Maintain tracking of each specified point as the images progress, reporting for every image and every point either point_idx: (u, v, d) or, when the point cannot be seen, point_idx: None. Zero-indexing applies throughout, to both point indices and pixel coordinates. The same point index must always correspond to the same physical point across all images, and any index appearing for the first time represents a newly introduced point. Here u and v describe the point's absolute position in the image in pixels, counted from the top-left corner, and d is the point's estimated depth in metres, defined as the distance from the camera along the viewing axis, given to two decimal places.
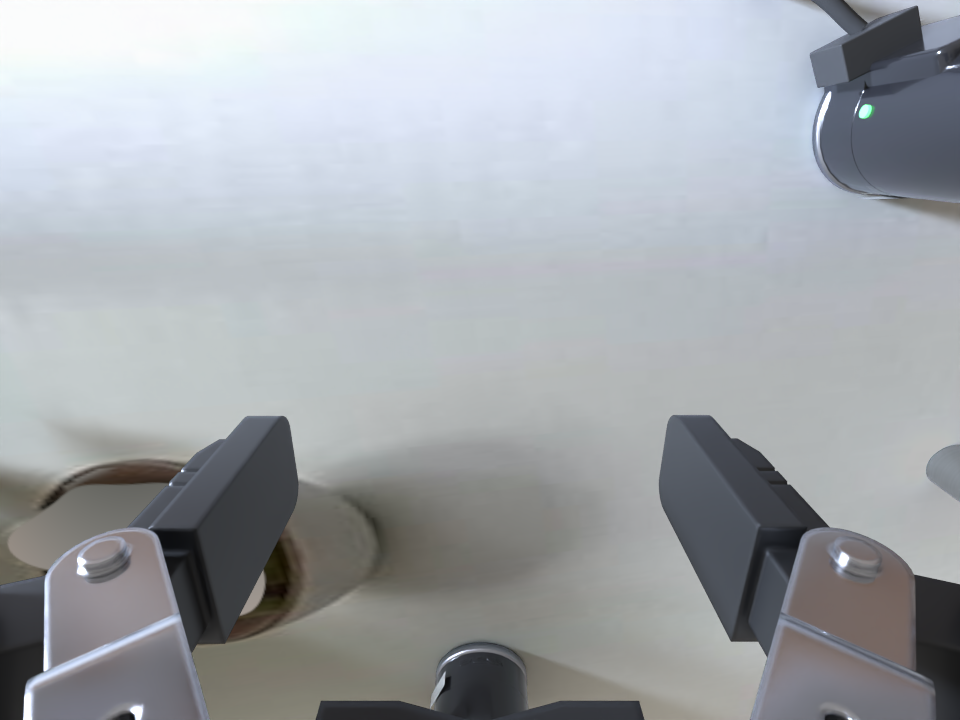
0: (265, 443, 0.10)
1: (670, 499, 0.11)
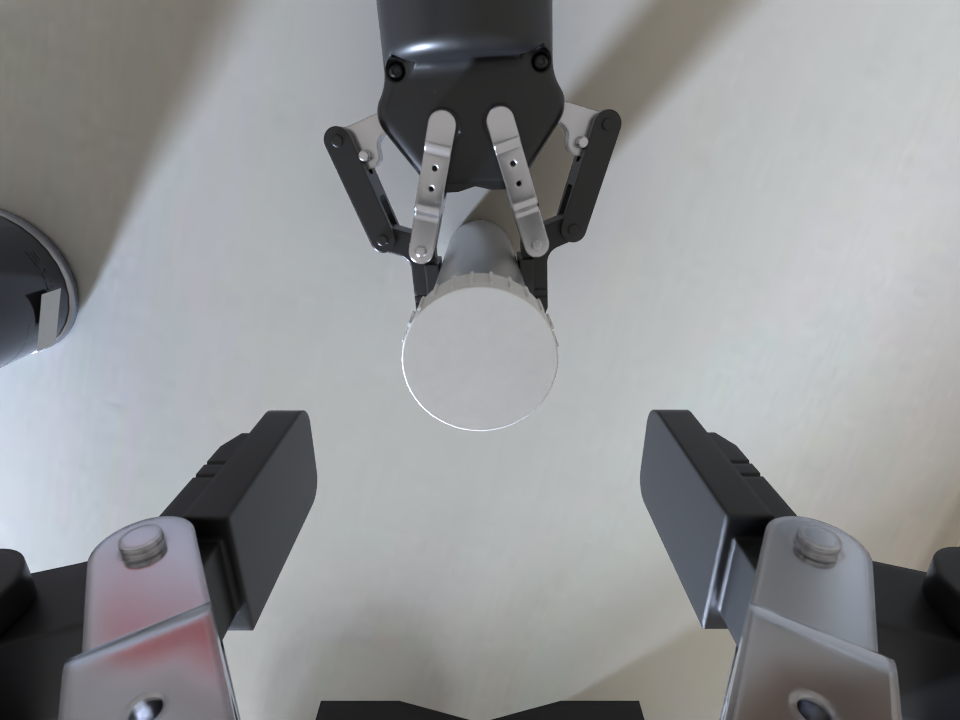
0: (288, 436, 0.10)
1: (650, 492, 0.11)
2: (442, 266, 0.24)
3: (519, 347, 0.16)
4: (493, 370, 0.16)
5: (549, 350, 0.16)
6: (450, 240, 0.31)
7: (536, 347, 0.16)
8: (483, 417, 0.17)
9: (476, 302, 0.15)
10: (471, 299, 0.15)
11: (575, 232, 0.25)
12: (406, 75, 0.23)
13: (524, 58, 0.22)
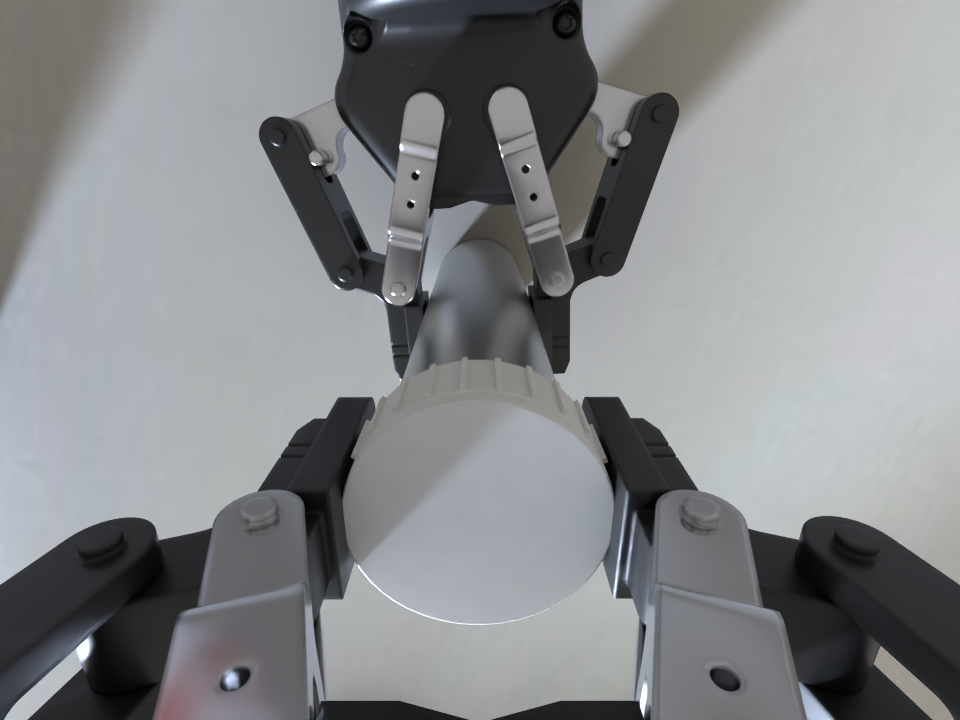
0: (362, 421, 0.10)
1: None
2: (426, 313, 0.17)
3: (548, 500, 0.09)
4: (502, 535, 0.09)
5: (601, 504, 0.09)
6: (441, 266, 0.24)
7: (578, 500, 0.09)
8: (484, 606, 0.10)
9: (472, 427, 0.08)
10: (462, 422, 0.08)
11: (610, 263, 0.18)
12: (373, 43, 0.16)
13: (543, 18, 0.16)
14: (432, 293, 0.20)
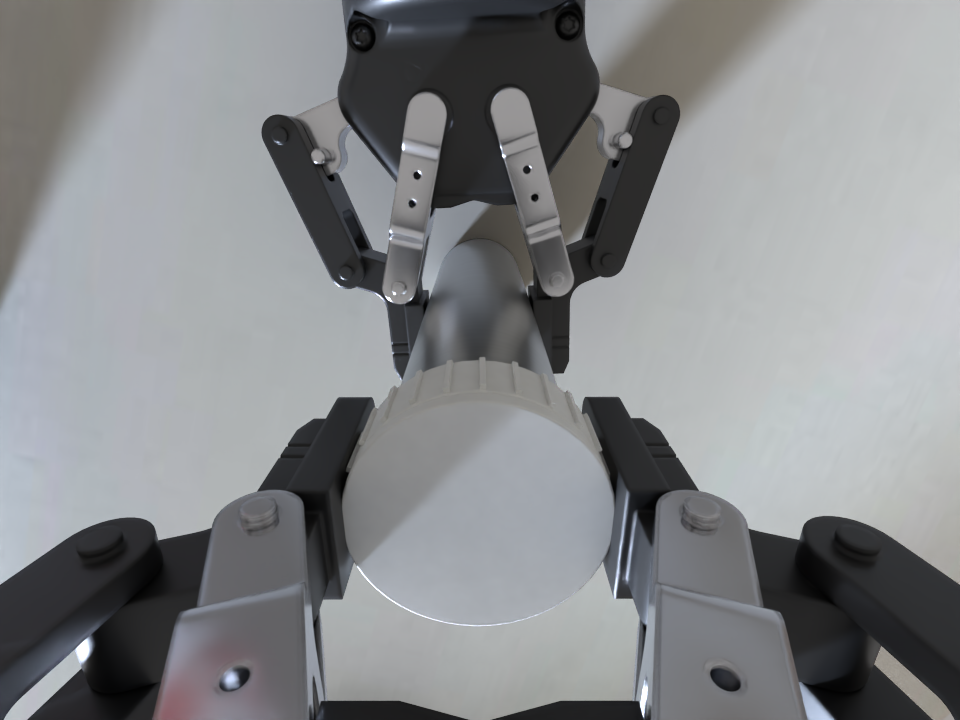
0: (362, 421, 0.10)
1: None
2: (426, 312, 0.17)
3: (462, 462, 0.09)
4: (497, 508, 0.09)
5: (479, 415, 0.08)
6: (441, 265, 0.24)
7: (468, 435, 0.08)
8: (584, 537, 0.09)
9: (368, 512, 0.09)
10: (362, 517, 0.09)
11: (610, 264, 0.18)
12: (376, 43, 0.16)
13: (545, 19, 0.16)
14: (432, 292, 0.20)
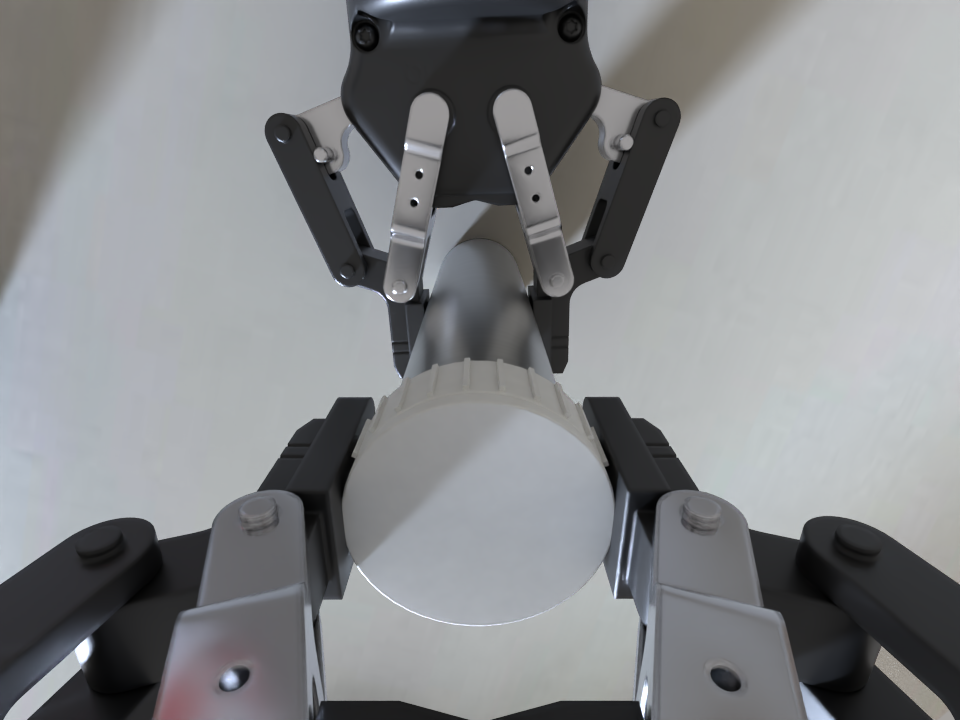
0: (362, 421, 0.10)
1: None
2: (427, 311, 0.17)
3: (403, 525, 0.09)
4: (461, 506, 0.09)
5: (355, 504, 0.09)
6: (442, 264, 0.24)
7: (375, 515, 0.09)
8: (516, 436, 0.08)
9: (444, 603, 0.10)
10: (449, 608, 0.10)
11: (610, 265, 0.18)
12: (380, 43, 0.16)
13: (548, 21, 0.16)
14: (433, 291, 0.20)
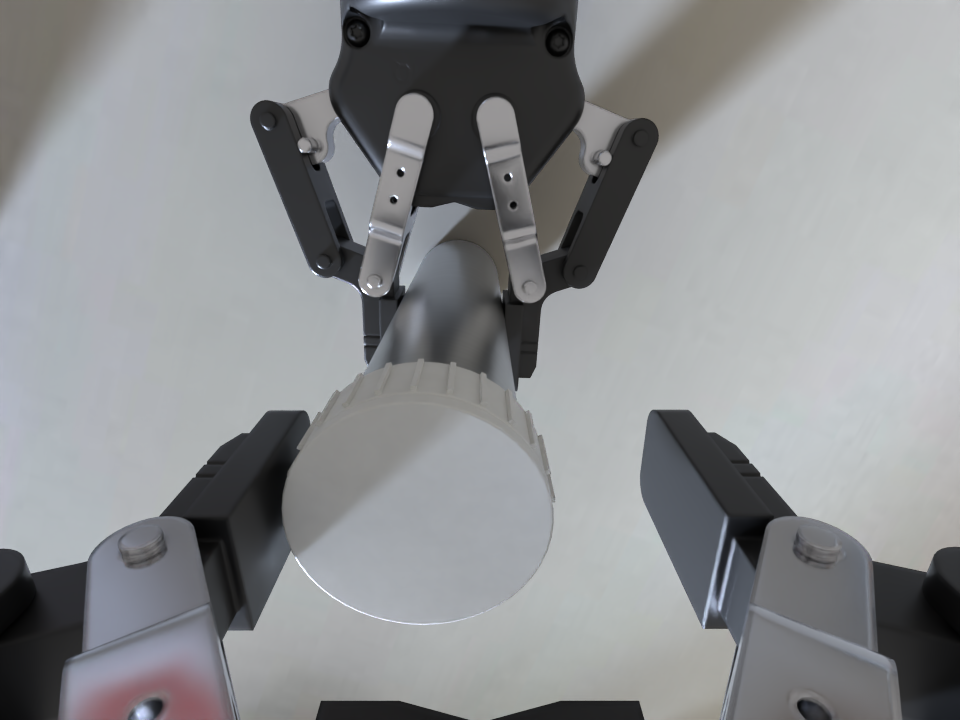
0: (288, 436, 0.10)
1: (650, 492, 0.11)
2: (399, 307, 0.17)
3: (483, 550, 0.09)
4: (423, 546, 0.09)
5: (512, 582, 0.10)
6: None
7: (502, 566, 0.10)
8: (348, 583, 0.10)
9: (496, 459, 0.09)
10: (494, 450, 0.09)
11: (582, 276, 0.19)
12: (370, 40, 0.16)
13: (536, 34, 0.16)
14: (408, 288, 0.20)
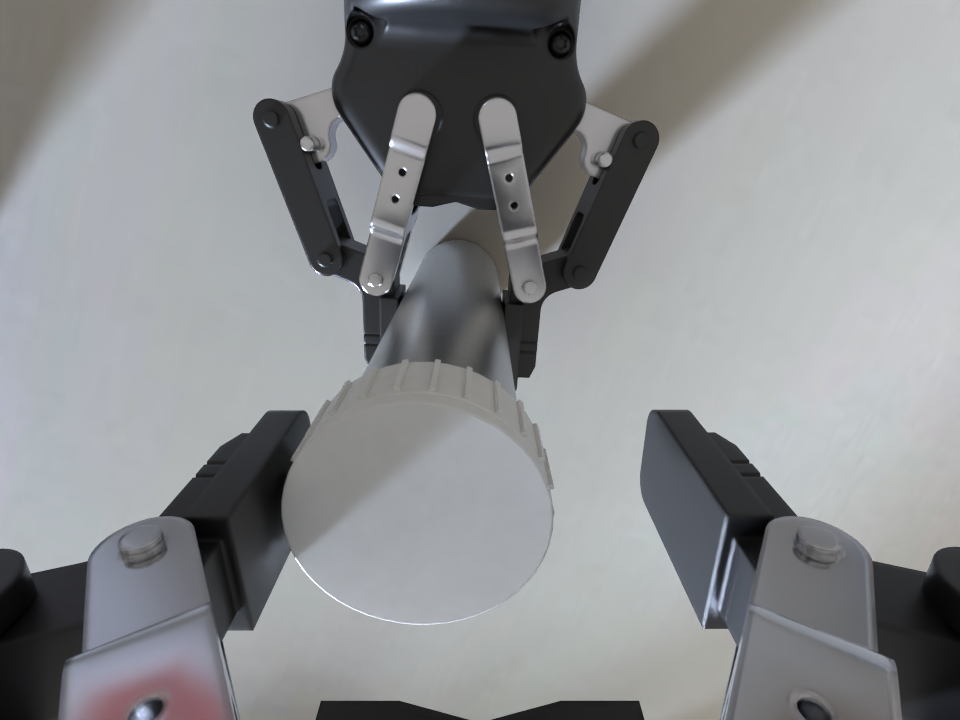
0: (288, 437, 0.10)
1: (650, 492, 0.11)
2: (399, 306, 0.17)
3: (461, 474, 0.09)
4: (445, 525, 0.09)
5: (511, 455, 0.09)
6: (422, 262, 0.25)
7: (488, 461, 0.09)
8: (476, 593, 0.10)
9: (350, 445, 0.09)
10: (339, 444, 0.09)
11: (581, 277, 0.19)
12: (373, 40, 0.16)
13: (539, 36, 0.16)
14: (409, 287, 0.20)
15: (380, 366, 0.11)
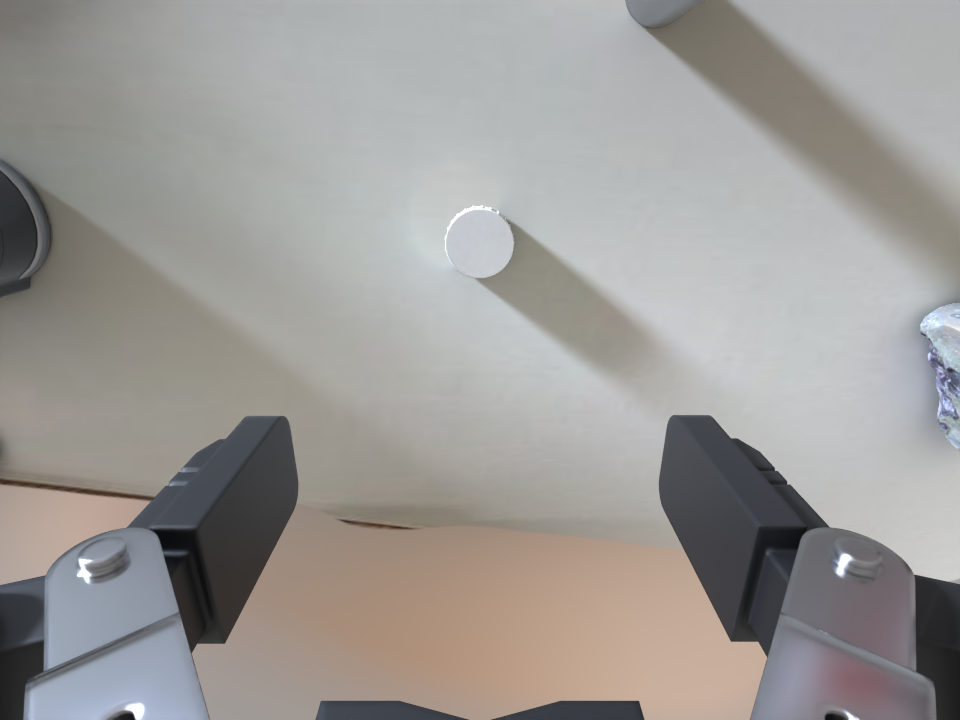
0: (265, 443, 0.10)
1: (670, 499, 0.11)
2: None
3: (490, 228, 0.36)
4: (486, 244, 0.36)
5: (502, 222, 0.36)
6: None
7: (496, 224, 0.36)
8: (495, 266, 0.37)
9: (463, 221, 0.36)
10: (460, 222, 0.36)
11: None
12: None
13: None
14: None
15: None
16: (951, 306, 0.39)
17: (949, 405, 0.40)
